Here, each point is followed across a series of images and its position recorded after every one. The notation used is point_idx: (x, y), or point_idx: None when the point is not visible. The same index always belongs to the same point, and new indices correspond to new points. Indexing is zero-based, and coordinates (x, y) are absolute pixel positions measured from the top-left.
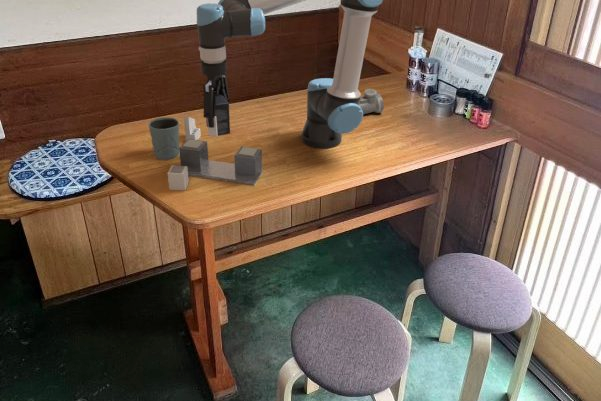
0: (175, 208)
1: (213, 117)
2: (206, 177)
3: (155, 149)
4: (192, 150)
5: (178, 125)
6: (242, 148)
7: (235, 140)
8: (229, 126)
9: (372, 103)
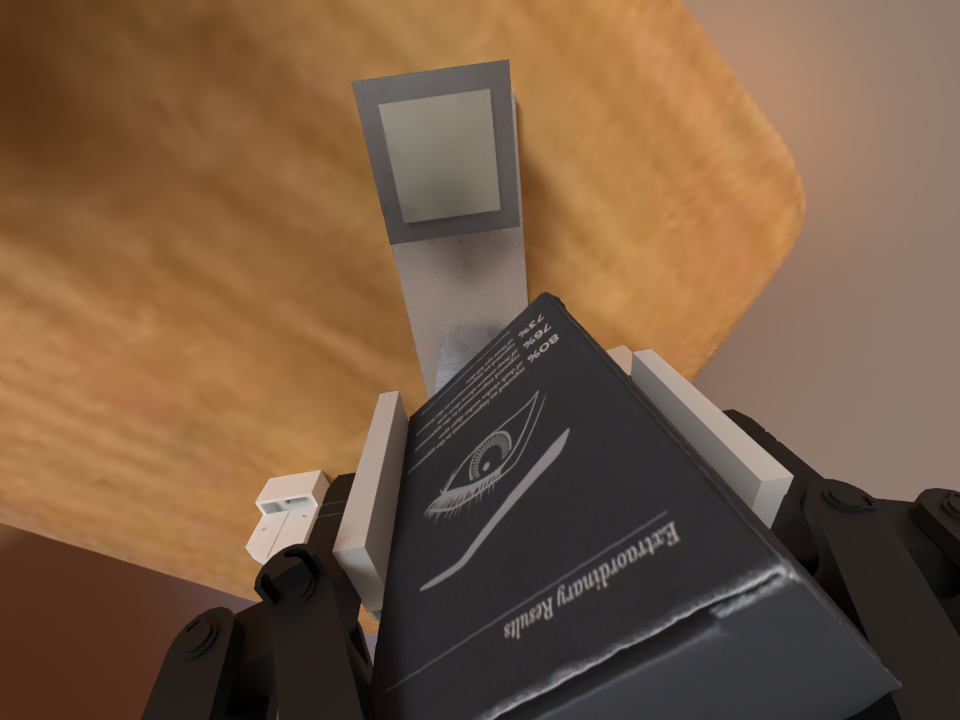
0: (737, 315)
1: (851, 487)
2: None
3: None
4: None
5: None
6: (426, 217)
7: (205, 369)
8: (568, 315)
9: None
